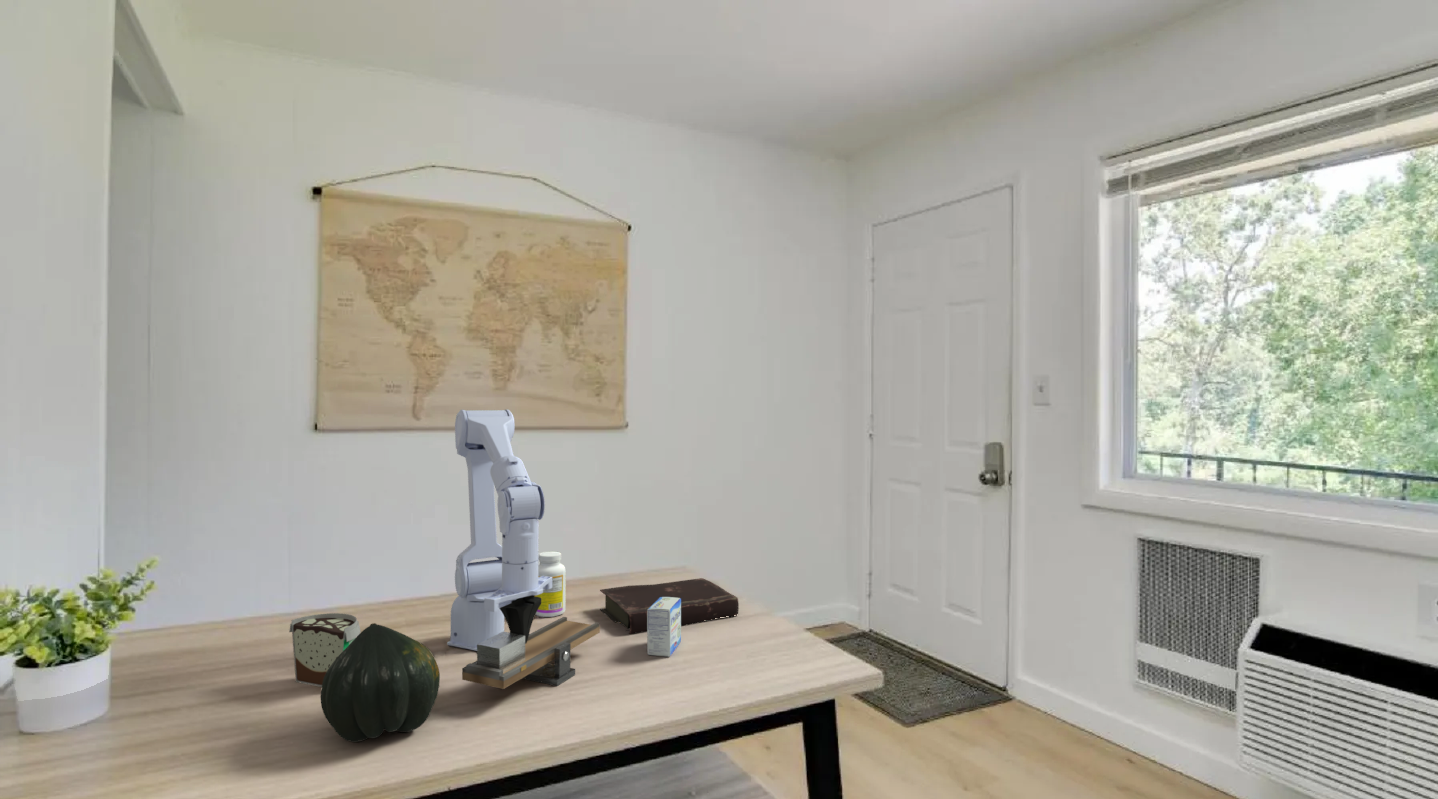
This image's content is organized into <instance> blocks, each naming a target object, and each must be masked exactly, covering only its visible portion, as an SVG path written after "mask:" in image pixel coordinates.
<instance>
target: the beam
mask: <svg viewBox="0 0 1438 799" xmlns="http://www.w3.org/2000/svg"><path fill="white" fill-rule="evenodd" d="M600 625H601V623H600V622H599V621H598V622H594V623H592V624H590V623H589V624H588V623H583V622H577V621H572V620H568V617H566V616H562V617H560V618H558V619H557V620H555V621H552V622H551V623H548V624H547V625H545V626H543V627H541V628H539V629H536V630H535V631H533V632H531V633H529V636H528V640H527V643H526V644H525V661H523V662H521V663H519V664H518V665H516V666H514V667H512V668H511V669H509V670H507V671H505V672H504V673H503V670H500V669H495V668H490V667H485V666H481V665H477V660H476V661H474V662H470V663H468V664H466V665H465V666H463V667H462V668H461V669H462V670H461V671H462V672H461V673H462V674H461V679H462V681H466V682H471V683H475V684H480V685H484V686H488V687H493V688H498V689H501V690H505V689H506V688H508V687H509V686H511V685H513V684H514V683H516V682H518V681H520V680H523V679H522V678H523V677H525V676H527V675H528V674H530V673H532V672H533V671H535V670H537V669H539V668H540V667H542V666H544V665H545V664H547V663H548V664H550V663H551V662H552V661H555V648H556V647H558V646H560V645H562V644H564V643H571V648H570V651H572V650H573V649H574V648H575V647H578V646H580V645H581V644H583V643H585V642H586V641H588V640H590V639H592V638H593V637H595V636H596V635H598V634H600V633H601V626H600Z"/></svg>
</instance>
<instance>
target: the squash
mask: <svg viewBox="0 0 1438 799" xmlns="http://www.w3.org/2000/svg"><path fill="white" fill-rule="evenodd" d="M439 668H440V667H439V666H438V663H437V660H436V658H435V656H434V654H433V653H432V651H431V650H430V649H429V648H428V647H426V645H424V644H422V643H421V642H420V641H418V640H416V639H414V638H412V637H410V636H408V635H406V634H403V633H402V632H399V631H398V630H394V629H392V628H390V627H388V626H385V625H381V624H377V623H375V622H372V623H371V624H370V625H369V626H367V627H365V628H364V629H363V630H362V631H361V632H360V634H359V635H358V636H357V637H356V638H355V639H354V640H353V641H352V642H351V644H350V645H349V646H348V647H347V648H346V649H345V650H344V651H343V652H342V653H341V654H340V655H339V656H338V657H337V658H336V659H335V661H334V662H333V663H332V665H331V666H330V667H329V669H328V670H327V672H326V674H325V676H324V679H323V683H322V687H321V690H320V696H319V698H320V705H321V706H320V707H321V710H322V712H323V715H324V718H325V719H326V721H327V723H328V724H329V725H330V726H331V727H332V728H333V730H334V732H335V733H336V734H337V735H338V737H340V738H342V739H343V740H345V741H348V742H353V743H354V742H362V741H365V740H368V739H369V738H371V739H375V738H378V737H380V736H381V735H382V734H383V733H384V732H385V731H386V732H388V733H390V732H396V731H398V732H401V733H408V732H412V731H415V730H417V729H419V728H420V727H422V725H423V724H424V723H426V721H427V719H428V718H429V716H430V714H431V712H432V709H433V706H434V705H435V703H436V700H437V697H438V695H439V694H438V693H439V688H440V678H441V677H440V669H439Z"/></svg>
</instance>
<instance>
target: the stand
mask: <svg viewBox="0 0 1438 799" xmlns="http://www.w3.org/2000/svg"><path fill="white" fill-rule="evenodd" d="M570 648H571V643H564V644H562V645H560V646H558V647H556V648H555V659H554V664H552V663H547V664H545V665H544V666H542V667H540V668H539V669H537V670H535V671H533V672H532V673H530V674H528V675H527V676H525V677H523V678H522V679H521V680H527V681H531V682H537V683H541V684H545V685H549V686H556V687H558V686H560V685H561V684H563V683H565V682H566V681H568V680H570V679H571V678H572V677H574V676H575V675H576V668H573V667H571V650H570Z"/></svg>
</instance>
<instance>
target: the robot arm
mask: <svg viewBox="0 0 1438 799" xmlns="http://www.w3.org/2000/svg"><path fill="white" fill-rule="evenodd" d="M515 422H516V421H515V417H514V415H513V413H512V411H511V410H510V409H508V408H507V409H504V410H503V409H500V410H498V409H496V410H495V409H494V410H493V409H491V410H490V409H489V410H488V409H487V410H485V409H484V410H482V409H480V410H478V409H477V410H473V409H472V410H471V409H469V410H468V409H467V410H465V409H459V411H458V412H457V413H456V416H455V422H454V434H455V439H454V440H455V450H456V454H457V455H459V456H461V457H463V458H465V461H466V462H465V463H466V467H467V482H468V485H467V486H468V503H469V504H468V505H469V506H468V508H469V526H470V527H469V528H470V544H469V545H468V546H467V547H466V548H465V549H464V550H462V551H461V552H460V553H459V554H458V555H457V557H456V560H455V571H454V585H455V586H454V587H455V591H456V593H457V595H458V596H457V597H456V598H455V599H454V600H453V602H452V605H451V607H450V608H451V609H450V640H449V641H447V643H446V645H447V646H451V647H455V648H461V649H466V650H471V651H475V652H477V644H479V643H481V642H483V641H485V640H487V639H489V638H491V637H493V636H495V635H497V634H499V633H501V632H505V620H506V623H507V625H508V626H507V627H508V629H509V633H514V634H520V635H525V644H526V643H527V640H528V636H529V634H530V631H531V628H532V624H533V621H534V619H535V616H536V612H537V610H538V608H539V606H540V605H541V598H540V597H535V596H534V595H539V594H541V593H543V590H544V589H551V588H552V577H548V576H541V577H538V565H539V554H540V552H539V550H540V549H539V544H540V543H539V542H540V539H539V536H540V526H539V525H540V521H541V520H543V517H544V514H545V510H546V509H545V508H546V504H545V502H546V501H545V495H544V491H543V488H542V486H541V485H540V484H539V483H538V484H537V483H536V482H535V481H532V480H531V478H530V476H529V473H528V471H527V469H526V467H525V463H524V462H523V460H522V459H521V458H520V457H518V456H516V455H514V450H513V447H512V444H511V442H512V439H513V438H514V434H515V429H516V428H515V427H516V426H515ZM495 491H496V493H497V502H496V500H495V499H496V497H495V496H496V494H495ZM496 503H497V514H498V518H499V519H498V521H499V532H500V533H501V534H502V536H501V537H502V540H501V542H502V543H501V544H502V545H501V544H500V543H498V536H497V535H498V534H497V518H496V517H497V514H496ZM490 558H497V559H492V560H491V559H490ZM483 559H490V560H484V561H483ZM474 560H475V562H472V561H474ZM476 560H482V561H476Z"/></svg>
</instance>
